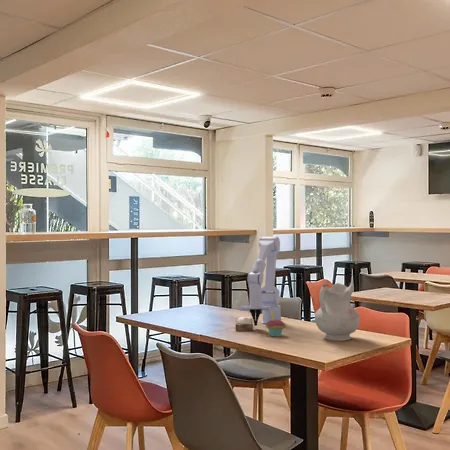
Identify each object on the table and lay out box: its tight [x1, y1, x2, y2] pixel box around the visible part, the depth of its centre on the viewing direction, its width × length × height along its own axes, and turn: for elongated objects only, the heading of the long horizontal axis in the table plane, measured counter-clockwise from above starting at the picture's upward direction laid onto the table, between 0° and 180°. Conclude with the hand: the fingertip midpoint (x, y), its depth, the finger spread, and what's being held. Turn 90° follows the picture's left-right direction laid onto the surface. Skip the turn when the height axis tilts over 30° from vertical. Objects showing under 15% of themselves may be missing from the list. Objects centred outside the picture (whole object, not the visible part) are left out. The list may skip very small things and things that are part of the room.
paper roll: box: [237, 316, 253, 324], centre depth 272 cm, size 7×7×5 cm
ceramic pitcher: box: [314, 282, 361, 342], centre depth 247 cm, size 22×20×25 cm
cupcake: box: [265, 309, 286, 337], centre depth 256 cm, size 9×8×12 cm
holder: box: [235, 320, 254, 332], centre depth 272 cm, size 8×11×3 cm
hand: (255, 325), depth 272 cm, fingers closed
